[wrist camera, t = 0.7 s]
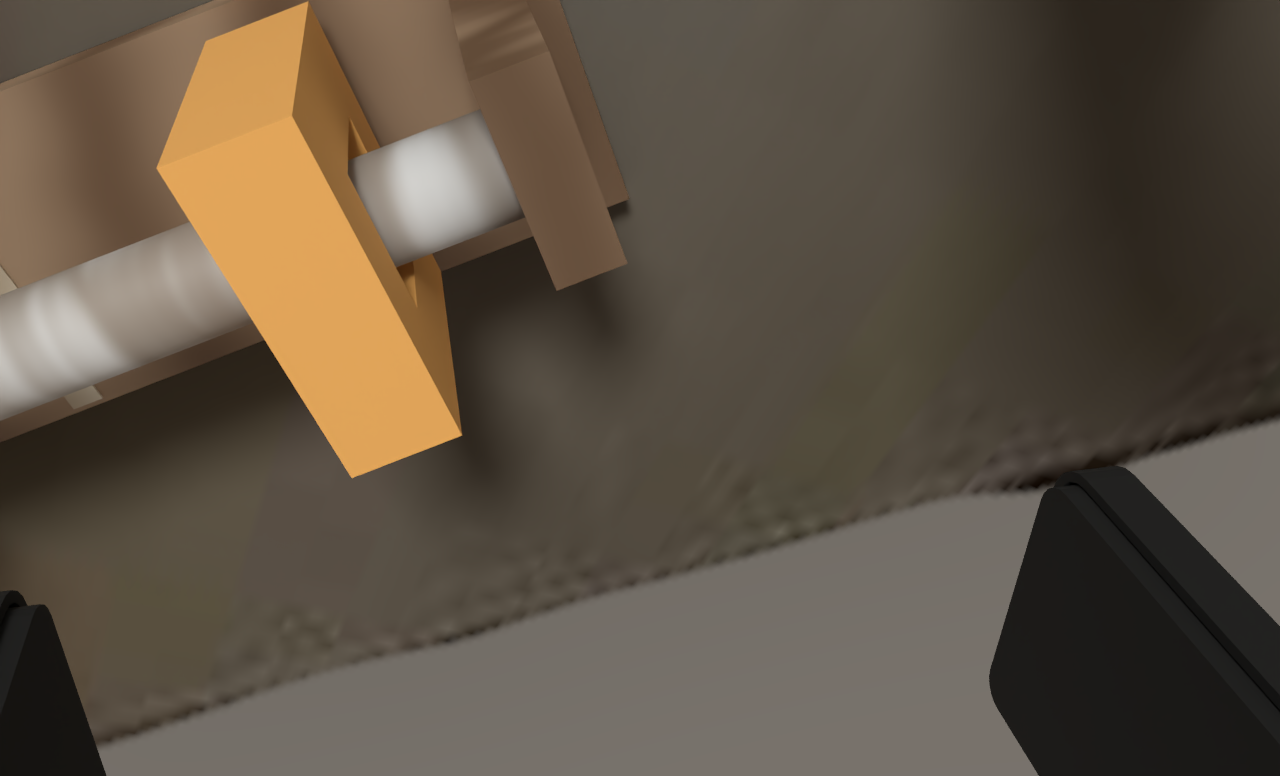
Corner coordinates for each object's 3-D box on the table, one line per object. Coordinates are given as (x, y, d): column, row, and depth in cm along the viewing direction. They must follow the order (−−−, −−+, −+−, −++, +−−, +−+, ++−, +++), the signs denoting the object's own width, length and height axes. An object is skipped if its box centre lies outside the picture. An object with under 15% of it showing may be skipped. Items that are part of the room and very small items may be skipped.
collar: (308, 1, 30) (291, 115, 23) (441, 271, 35) (461, 435, 28) (205, 41, 30) (156, 168, 23) (353, 305, 35) (351, 477, 28)
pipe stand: (516, -118, 31) (560, -50, 25) (623, 186, 37) (683, 310, 30) (-399, 238, 32) (-611, 405, 25) (-150, 486, 37) (-265, 676, 31)
